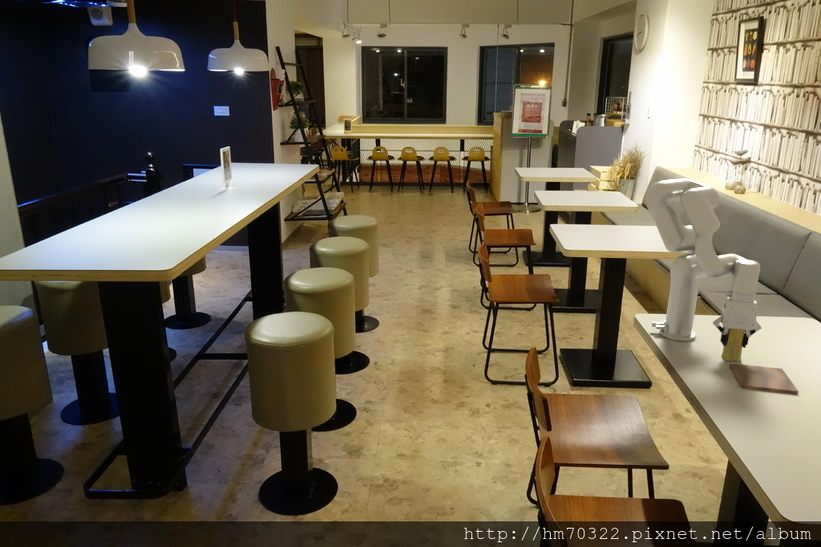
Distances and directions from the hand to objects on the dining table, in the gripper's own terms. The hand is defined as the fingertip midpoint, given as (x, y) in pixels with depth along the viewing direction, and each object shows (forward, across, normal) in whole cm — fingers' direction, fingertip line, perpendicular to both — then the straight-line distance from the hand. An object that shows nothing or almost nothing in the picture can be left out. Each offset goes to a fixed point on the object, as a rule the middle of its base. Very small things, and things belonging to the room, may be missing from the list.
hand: (733, 344), depth 217 cm
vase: (+5, 0, 0) cm, 5 cm away
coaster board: (+5, +6, -15) cm, 17 cm away
